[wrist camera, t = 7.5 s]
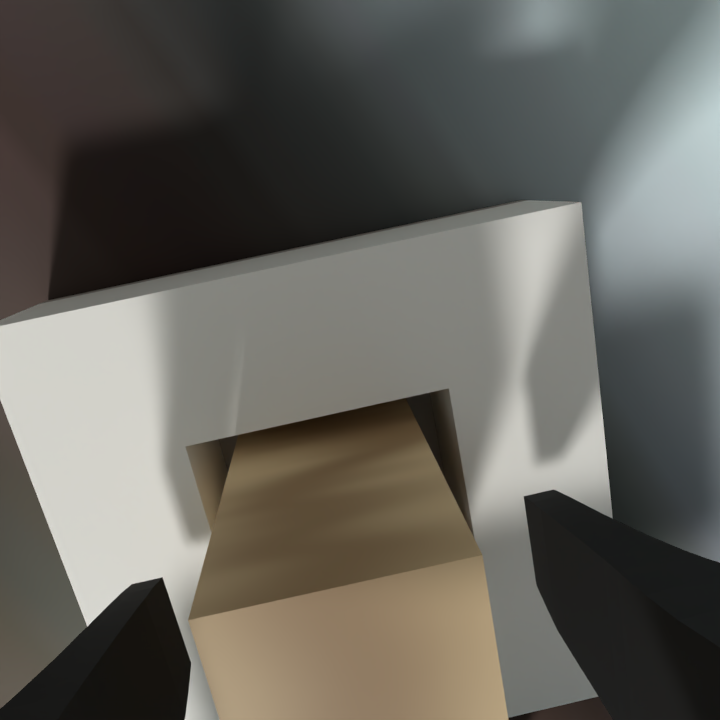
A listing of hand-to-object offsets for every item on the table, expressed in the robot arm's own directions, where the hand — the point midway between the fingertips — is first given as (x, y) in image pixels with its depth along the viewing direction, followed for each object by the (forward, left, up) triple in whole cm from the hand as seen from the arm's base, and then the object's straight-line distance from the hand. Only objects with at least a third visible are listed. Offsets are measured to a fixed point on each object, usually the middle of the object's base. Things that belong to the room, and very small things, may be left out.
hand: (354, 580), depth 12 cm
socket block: (0, 0, -5) cm, 5 cm away
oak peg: (0, 0, -5) cm, 5 cm away
